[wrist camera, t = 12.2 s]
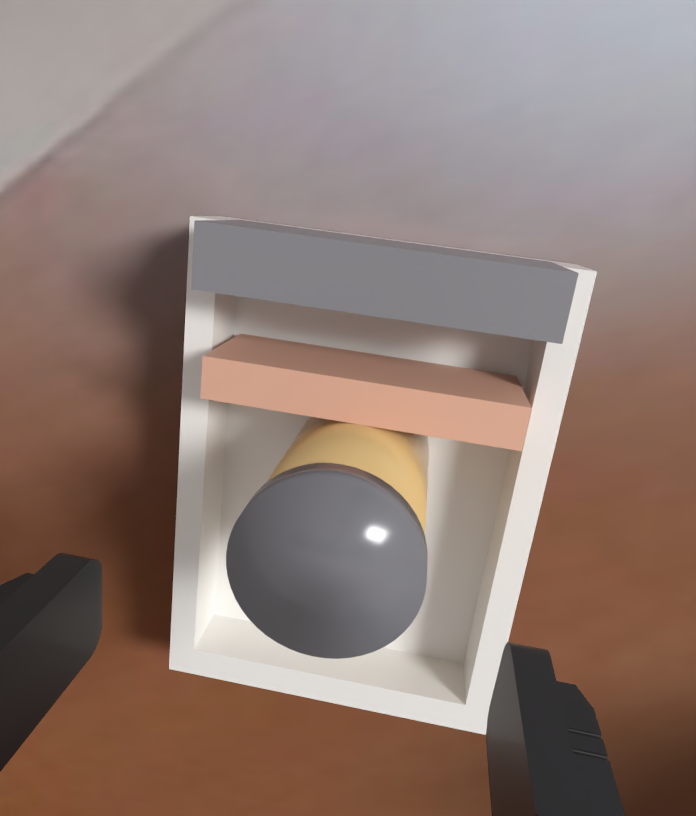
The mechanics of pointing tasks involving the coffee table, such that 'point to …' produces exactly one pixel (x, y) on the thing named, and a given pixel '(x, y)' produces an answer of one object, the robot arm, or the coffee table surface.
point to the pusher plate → (368, 390)
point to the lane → (448, 459)
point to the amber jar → (335, 541)
